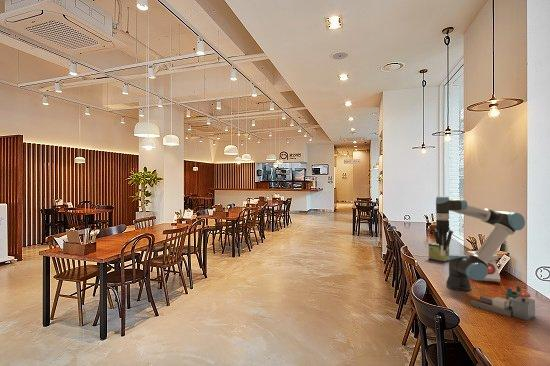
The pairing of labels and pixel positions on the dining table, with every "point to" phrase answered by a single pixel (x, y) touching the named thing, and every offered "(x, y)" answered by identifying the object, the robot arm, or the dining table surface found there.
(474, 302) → the guide rails
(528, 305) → the button station
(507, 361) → the dining table surface
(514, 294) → the green irregular piece
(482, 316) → the dining table surface
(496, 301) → the cube with cylindrical stub
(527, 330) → the dining table surface
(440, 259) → the protein box
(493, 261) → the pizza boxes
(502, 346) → the dining table surface
